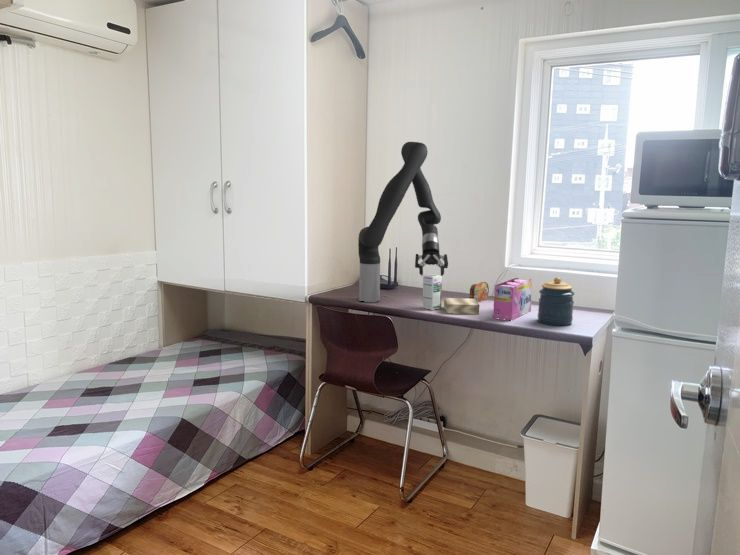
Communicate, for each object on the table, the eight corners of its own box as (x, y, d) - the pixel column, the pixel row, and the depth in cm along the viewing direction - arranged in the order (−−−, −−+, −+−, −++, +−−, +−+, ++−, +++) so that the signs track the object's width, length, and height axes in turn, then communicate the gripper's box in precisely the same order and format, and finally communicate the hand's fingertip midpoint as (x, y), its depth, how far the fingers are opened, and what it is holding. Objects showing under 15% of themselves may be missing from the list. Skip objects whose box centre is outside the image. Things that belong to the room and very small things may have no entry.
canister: (543, 326, 209) (546, 279, 206) (533, 318, 222) (535, 274, 219) (577, 326, 209) (581, 280, 206) (565, 318, 222) (568, 274, 219)
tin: (474, 303, 248) (475, 285, 246) (467, 302, 249) (468, 284, 248) (489, 298, 259) (489, 281, 258) (482, 297, 261) (483, 280, 260)
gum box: (514, 308, 240) (516, 277, 237) (532, 310, 235) (534, 279, 233) (492, 318, 220) (494, 284, 218) (511, 321, 216) (513, 287, 214)
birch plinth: (447, 313, 227) (447, 304, 226) (443, 307, 240) (444, 298, 239) (479, 314, 226) (479, 304, 226) (474, 307, 239) (474, 298, 239)
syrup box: (432, 310, 232) (433, 276, 230) (422, 308, 237) (423, 274, 234) (441, 308, 236) (442, 275, 234) (431, 306, 240) (432, 273, 238)
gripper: (415, 239, 245) (415, 269, 236) (447, 240, 245) (449, 269, 236) (414, 250, 252) (414, 279, 242) (445, 250, 251) (447, 280, 242)
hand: (431, 274), depth 239 cm, fingers open, 8 cm apart
